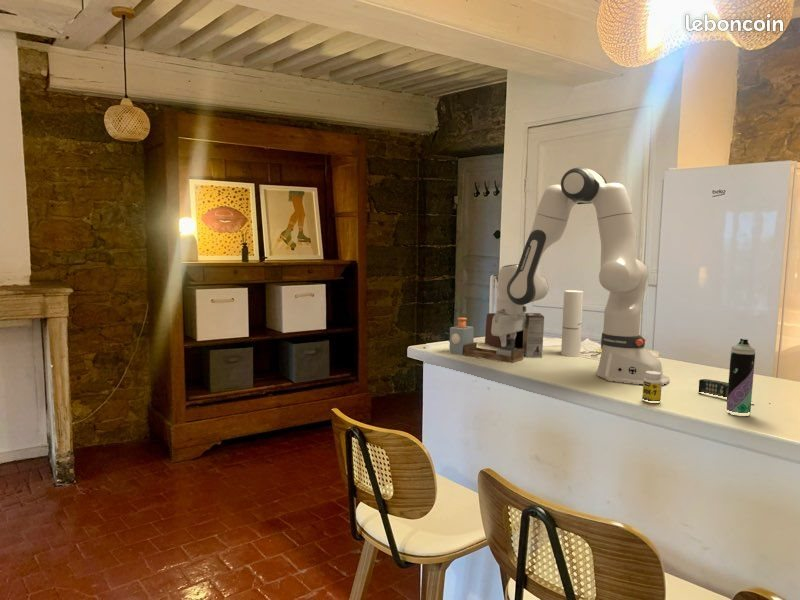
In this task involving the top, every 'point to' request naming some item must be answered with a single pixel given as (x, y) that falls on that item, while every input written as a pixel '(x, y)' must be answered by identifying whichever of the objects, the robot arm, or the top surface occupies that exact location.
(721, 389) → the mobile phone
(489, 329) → the letter holder
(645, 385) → the supplement bottle
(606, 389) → the top surface
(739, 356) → the spray can
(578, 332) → the cylindrical container
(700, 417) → the top surface
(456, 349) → the grey block
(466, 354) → the rail bed
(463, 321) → the plunger
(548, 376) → the top surface
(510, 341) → the carriage
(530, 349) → the coffee box
